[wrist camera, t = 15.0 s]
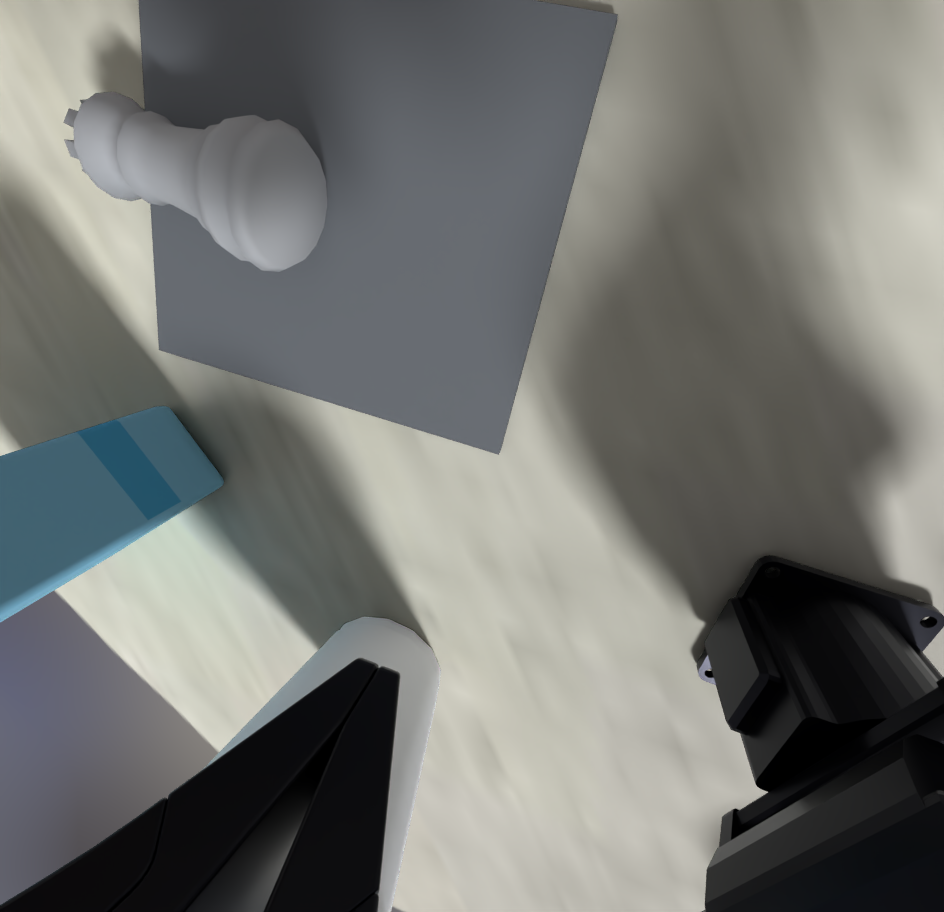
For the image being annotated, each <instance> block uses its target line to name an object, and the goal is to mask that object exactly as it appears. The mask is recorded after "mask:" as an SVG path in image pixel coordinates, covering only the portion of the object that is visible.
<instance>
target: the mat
mask: <svg viewBox="0 0 944 912" xmlns="http://www.w3.org/2000/svg"><path fill="white" fill-rule="evenodd" d="M139 16H140V33H141V50H142V67H143V84H144V101H145V111H146V112H147V111H152V112H154V113H157V114H159V115H162V116H164V117H166V118H167V119H168V120H169V121H170V122H171V123H172V124H174V125H175V126H177V127H186V128H195V129H203V130H205V129H206V128H207V127H208V126H210V125H216V124H220V123H221V122H222V121H223V120H224V119H228V118H235V117H241V116H248V115H256V116H258V117H260V118H262V119H264V120H266V121H272V120H277V119H279V120H281V121H283V122H285V123H287V124H289V125H291V126H293V127H295V128H297V129H298V130H299V131H300V133H301V134H302V136H303V137H304V138H305V140H306V141H307V143H308V144H309V145H310V147H311V148H312V150H313V151H314V153H315V154H316V156H317V157H318V159H319V160H320V163H321V167H322V170H323V173H324V176H325V179H326V188H327V210H326V217H325V223H324V228H323V230H322V233H321V235H320V237H319V240H318V242H317V245H316V246H315V248H314V249H313V250H312V251H311V253H310V254H309V255H308V256H307V258H306V259H305V260H303V261H301V262H299V263H297V264H295V265H293V266H291V267H289V268H287V269H285V270H283V271H280V272H274V271H262V270H260V269H259V268H258V267H256V266H255V265H254V264H252V263H251V262H249V261H241V260H239V259H238V258H237V257H235V256H234V255H232V254H231V253H230V252H228V251H227V250H225V249H224V248H223V247H221V246H220V245H219V244H218V243H216V242H215V240H214V239H213V237H212V236H211V234H210V232H209V231H207V230H206V229H205V228H203V227H202V225H201V224H200V222H199V221H198V219H197V218H195V217H193V216H192V215H190V214H188V213H186V212H184V211H183V210H181V209H179V208H177V207H175V206H173V205H171V204H168V205H164V206H161V205H156V204H151V203H150V204H151V221H152V238H153V255H154V272H155V289H156V306H157V323H158V340H159V350H161V351H164V352H167V353H170V354H174V355H177V356H180V357H183V358H187V359H190V360H193V361H196V362H200V363H203V364H206V365H209V366H213V367H216V368H219V369H222V370H226V371H229V372H232V373H235V374H239V375H242V376H245V377H248V378H252V379H255V380H258V381H261V382H265V383H268V384H271V385H274V386H278V387H281V388H284V389H287V390H291V391H294V392H297V393H300V394H304V395H307V396H310V397H313V398H317V399H320V400H323V401H326V402H330V403H333V404H336V405H339V406H343V407H346V408H349V409H352V410H356V411H359V412H362V413H365V414H369V415H372V416H375V417H378V418H382V419H385V420H388V421H391V422H395V423H398V424H401V425H404V426H408V427H411V428H414V429H417V430H421V431H424V432H427V433H430V434H434V435H437V436H440V437H443V438H447V439H450V440H453V441H456V442H460V443H463V444H466V445H469V446H473V447H476V448H479V449H482V450H485V451H489V452H492V453H495V454H498V455H499V453H500V451H501V447H502V444H503V440H504V436H505V433H506V429H507V425H508V421H509V418H510V414H511V410H512V407H513V403H514V399H515V396H516V392H517V388H518V385H519V381H520V377H521V374H522V370H523V366H524V363H525V359H526V355H527V351H528V348H529V344H530V340H531V337H532V333H533V329H534V326H535V322H536V318H537V315H538V311H539V307H540V304H541V300H542V296H543V292H544V289H545V285H546V281H547V278H548V274H549V270H550V267H551V263H552V259H553V256H554V252H555V248H556V245H557V241H558V237H559V234H560V230H561V226H562V222H563V219H564V215H565V211H566V208H567V204H568V200H569V197H570V193H571V189H572V186H573V182H574V178H575V175H576V171H577V167H578V163H579V160H580V156H581V152H582V149H583V145H584V141H585V138H586V134H587V130H588V127H589V123H590V119H591V116H592V112H593V108H594V104H595V101H596V97H597V93H598V90H599V86H600V82H601V79H602V75H603V71H604V68H605V64H606V60H607V57H608V53H609V49H610V46H611V42H612V38H613V34H614V31H615V27H616V23H617V16H618V14H612V13H606V12H600V11H594V10H588V9H583V8H577V7H571V6H565V5H559V4H553V3H548V2H542V1H536V0H139Z"/></svg>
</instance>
